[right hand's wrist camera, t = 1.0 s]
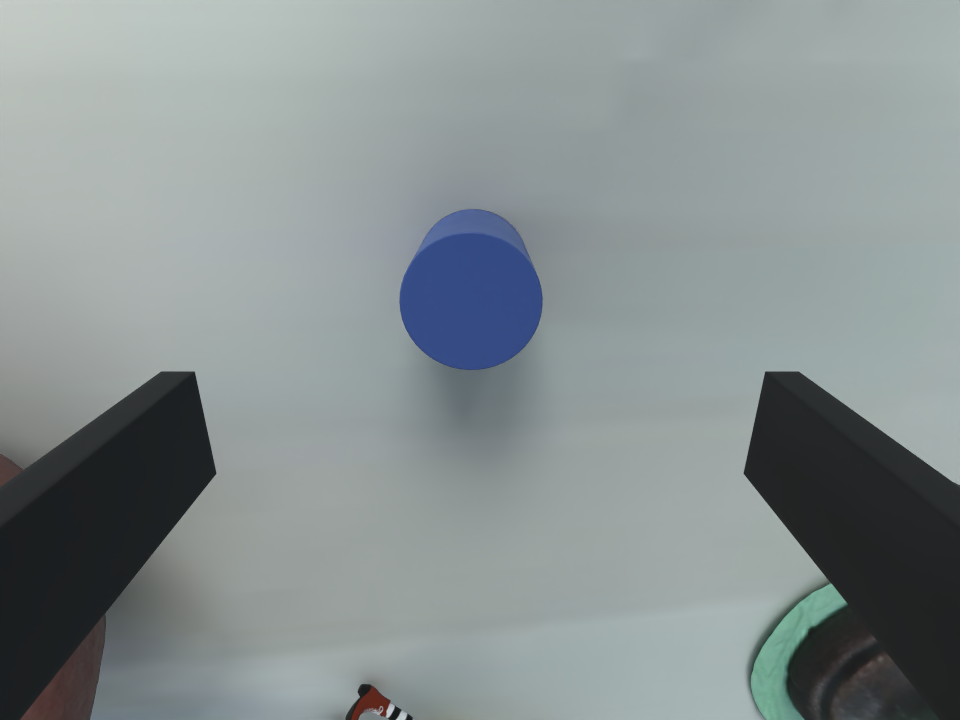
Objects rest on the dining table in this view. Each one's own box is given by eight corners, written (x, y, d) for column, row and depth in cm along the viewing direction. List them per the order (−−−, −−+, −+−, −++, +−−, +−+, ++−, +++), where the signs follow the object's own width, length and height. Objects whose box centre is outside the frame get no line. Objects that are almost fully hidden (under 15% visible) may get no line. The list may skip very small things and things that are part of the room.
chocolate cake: (954, 783, 43) (711, 748, 43) (964, 544, 46) (734, 508, 45) (1217, 970, 28) (851, 921, 28) (1213, 602, 31) (875, 550, 30)
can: (396, 252, 29) (369, 288, 22) (486, 185, 27) (488, 200, 20) (461, 336, 30) (456, 394, 23) (548, 277, 29) (570, 320, 22)
